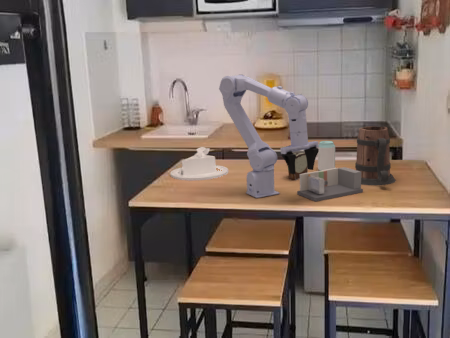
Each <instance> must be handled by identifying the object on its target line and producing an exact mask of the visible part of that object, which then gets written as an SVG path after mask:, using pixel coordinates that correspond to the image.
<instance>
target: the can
mask: <svg viewBox="0 0 450 338" xmlns="http://www.w3.org/2000/svg"><path fill="white" fill-rule="evenodd" d="M318 143H319V147H317V148H318V149H319V152H318V154H317V169H318V171H321V170H327V169H333V168H336V145H335V143H334V141H332V140H321V141H318Z"/></svg>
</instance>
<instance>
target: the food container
mask: <svg viewBox="0 0 450 338" xmlns="http://www.w3.org/2000/svg"><path fill="white" fill-rule="evenodd" d="M292 153H293V154H296V159H295V174H290V171H289V168H288V167H287V169H288V170H287V172H288V179H289V180H291V181H299V180H300V174H303V173H309V172H308V171H309V169H308V167H307V159H306V155H305V151H295V152H292Z"/></svg>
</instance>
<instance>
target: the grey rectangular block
mask: <svg viewBox="0 0 450 338" xmlns="http://www.w3.org/2000/svg"><path fill="white" fill-rule="evenodd" d="M327 184H328V182H327V180H325V181H324V179H322V178H319V177H316V176H313V175H310V174H309V176H307V185H308V190H309V191H312V192H315V193H317V194H324V185H327Z"/></svg>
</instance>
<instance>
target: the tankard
mask: <svg viewBox="0 0 450 338" xmlns="http://www.w3.org/2000/svg"><path fill="white" fill-rule="evenodd" d="M390 143H391V138H390V135H389V129H388V127H387V126H373V125H372V126H363V127H359V129H358V134H357V138H356V144H357V145H356V160H355V167H354V168H355V170H357V171H360V172H361V186H373V187H374V186H387V185H392V184H394V183H396V181H397V180H396V179H395V176H393V174H392V173H391V168H392V167H391V162H390V159H391V158H390Z"/></svg>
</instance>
